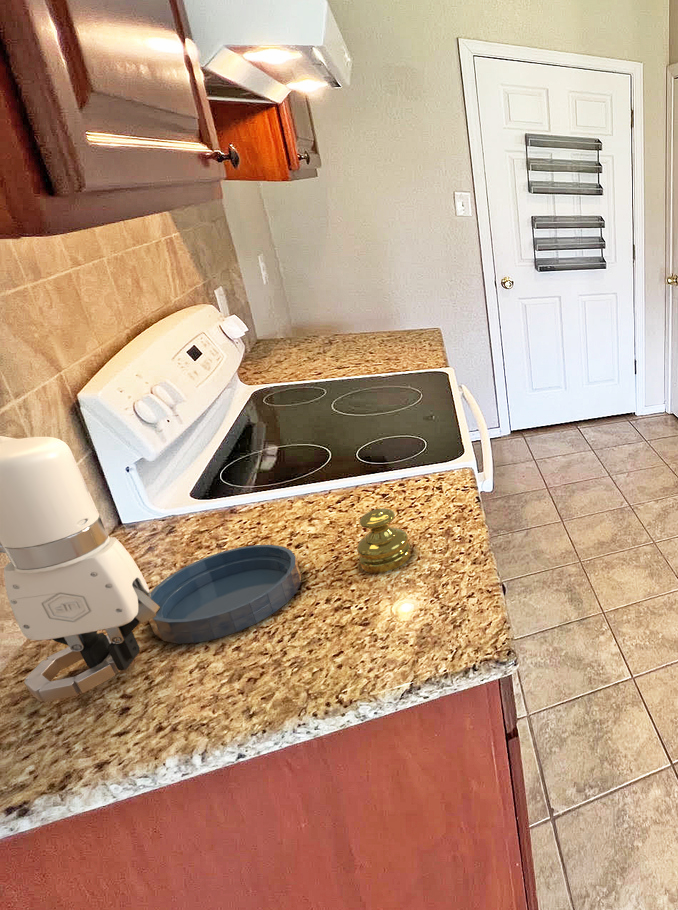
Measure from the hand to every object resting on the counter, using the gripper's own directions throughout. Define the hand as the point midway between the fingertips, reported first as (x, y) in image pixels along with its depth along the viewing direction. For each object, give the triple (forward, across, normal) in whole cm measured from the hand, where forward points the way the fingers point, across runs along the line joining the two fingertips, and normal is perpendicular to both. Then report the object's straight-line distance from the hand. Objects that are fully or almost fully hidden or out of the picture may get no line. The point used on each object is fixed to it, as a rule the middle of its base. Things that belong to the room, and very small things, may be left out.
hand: (117, 663), depth 72 cm
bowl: (+3, +7, +12) cm, 14 cm away
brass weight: (+3, +27, +16) cm, 32 cm away
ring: (0, -3, 0) cm, 3 cm away
